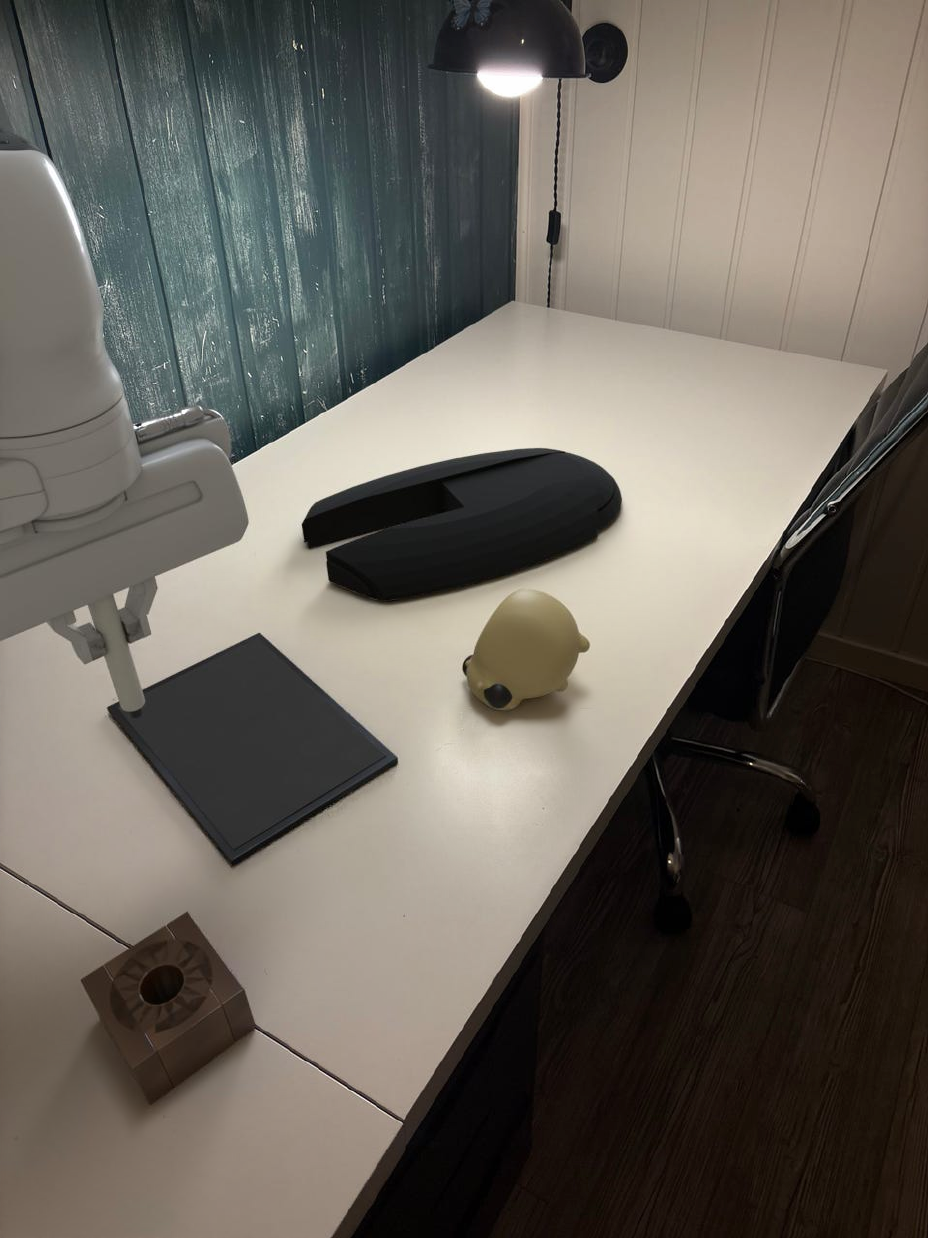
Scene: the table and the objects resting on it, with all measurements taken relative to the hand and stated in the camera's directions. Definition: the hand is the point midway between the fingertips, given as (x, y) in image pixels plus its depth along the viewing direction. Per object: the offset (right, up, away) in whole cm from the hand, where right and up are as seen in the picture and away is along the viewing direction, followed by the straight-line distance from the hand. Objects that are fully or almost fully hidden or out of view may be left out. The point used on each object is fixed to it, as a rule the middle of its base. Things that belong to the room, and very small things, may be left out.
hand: (113, 645), depth 59 cm
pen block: (+2, -27, +6) cm, 27 cm away
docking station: (+23, +14, +56) cm, 62 cm away
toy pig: (+28, -5, +32) cm, 43 cm away
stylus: (0, -5, +4) cm, 6 cm away
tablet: (+2, -9, +27) cm, 29 cm away
